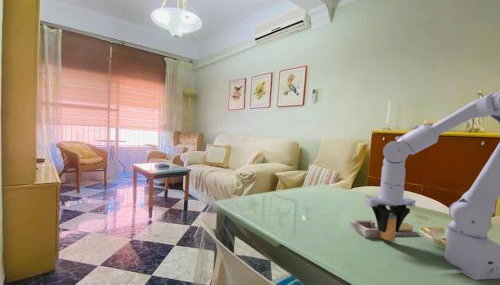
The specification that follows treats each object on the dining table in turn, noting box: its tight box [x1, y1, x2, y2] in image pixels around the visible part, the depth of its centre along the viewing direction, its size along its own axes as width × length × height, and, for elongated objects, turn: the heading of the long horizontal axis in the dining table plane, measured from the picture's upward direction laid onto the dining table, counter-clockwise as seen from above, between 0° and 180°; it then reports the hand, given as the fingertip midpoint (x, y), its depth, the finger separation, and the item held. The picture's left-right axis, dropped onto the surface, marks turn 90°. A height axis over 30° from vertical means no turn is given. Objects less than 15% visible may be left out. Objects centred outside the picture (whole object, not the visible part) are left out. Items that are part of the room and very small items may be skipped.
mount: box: [349, 219, 420, 239], centre depth 75 cm, size 8×21×3 cm, turn 101°
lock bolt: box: [398, 222, 414, 232], centre depth 76 cm, size 2×8×2 cm, turn 101°
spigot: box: [380, 213, 397, 242], centre depth 67 cm, size 4×4×7 cm
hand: (388, 230), depth 67 cm, fingers closed on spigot, 4 cm apart
